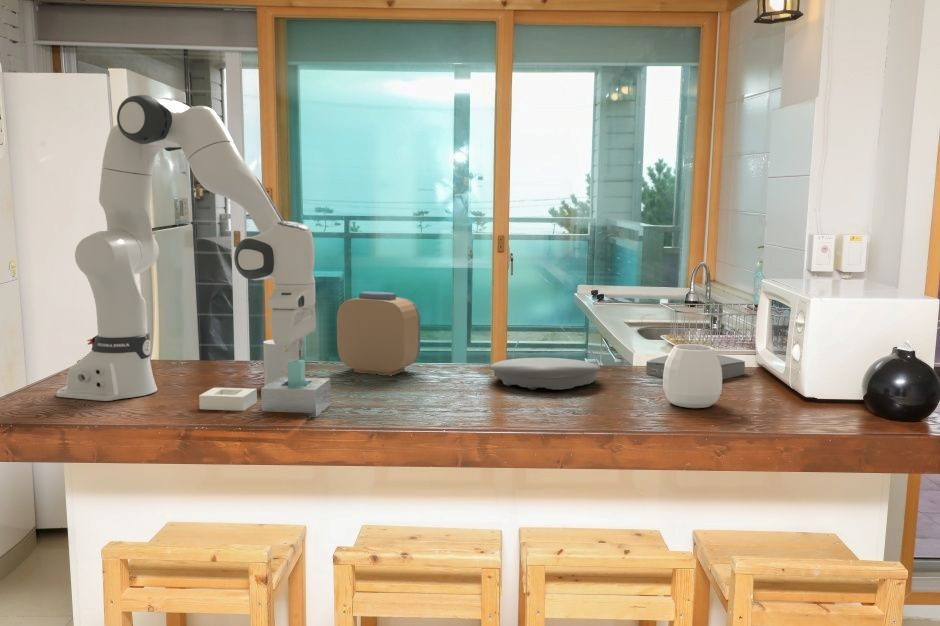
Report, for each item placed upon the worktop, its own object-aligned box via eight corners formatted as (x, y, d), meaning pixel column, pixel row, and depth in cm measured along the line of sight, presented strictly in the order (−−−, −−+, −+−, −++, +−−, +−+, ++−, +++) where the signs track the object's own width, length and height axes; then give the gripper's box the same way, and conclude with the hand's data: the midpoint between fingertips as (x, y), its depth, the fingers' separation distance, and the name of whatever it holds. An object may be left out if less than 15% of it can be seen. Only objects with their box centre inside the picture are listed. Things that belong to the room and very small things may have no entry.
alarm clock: (421, 371, 234) (421, 292, 231) (404, 378, 225) (404, 296, 223) (356, 365, 242) (355, 289, 240) (337, 371, 234) (336, 292, 231)
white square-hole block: (199, 413, 188) (199, 395, 187) (214, 404, 196) (213, 387, 195) (244, 414, 187) (243, 396, 186) (257, 406, 195) (256, 388, 194)
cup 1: (290, 394, 207) (289, 344, 205) (259, 392, 208) (257, 343, 207) (303, 387, 214) (302, 339, 213) (273, 385, 216) (271, 338, 215)
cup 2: (650, 401, 201) (652, 344, 199) (696, 396, 206) (698, 341, 205) (685, 414, 189) (687, 354, 187) (733, 408, 194) (736, 350, 192)
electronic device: (639, 374, 234) (639, 356, 233) (687, 365, 248) (687, 347, 247) (698, 386, 219) (699, 367, 219) (746, 375, 233) (747, 357, 233)
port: (261, 415, 186) (261, 388, 185) (280, 402, 198) (279, 376, 197) (315, 417, 185) (315, 389, 184) (331, 404, 197) (330, 378, 196)
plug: (288, 406, 190) (287, 362, 189) (292, 403, 193) (291, 359, 192) (301, 407, 190) (300, 362, 188) (305, 403, 193) (305, 359, 191)
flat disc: (623, 386, 217) (623, 369, 217) (536, 400, 202) (536, 381, 201) (552, 370, 240) (552, 354, 240) (469, 381, 225) (469, 364, 224)
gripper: (295, 290, 199) (296, 349, 201) (265, 301, 179) (266, 366, 180) (322, 291, 198) (323, 350, 200) (294, 301, 178) (296, 367, 180)
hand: (296, 358), depth 190 cm, fingers closed
